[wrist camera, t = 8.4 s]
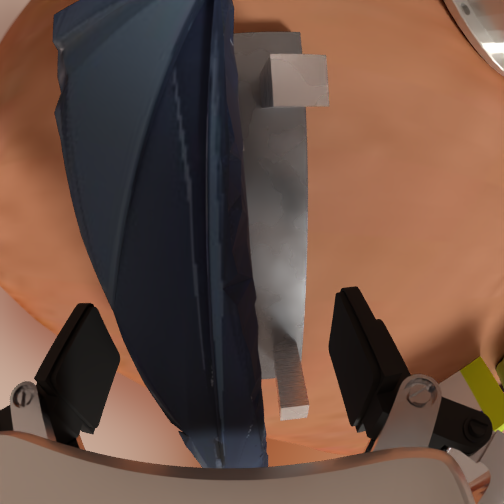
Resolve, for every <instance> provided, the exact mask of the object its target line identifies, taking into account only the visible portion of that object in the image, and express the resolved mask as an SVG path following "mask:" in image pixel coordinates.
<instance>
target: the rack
mask: <svg viewBox="0 0 504 504" xmlns="http://www.w3.org/2000/svg"><path fill="white" fill-rule="evenodd" d="M233 39H234V53H235V59H236V65H237V71H238V95H239V108H240V121H241V130H242V138H243V145H244V150H245V151H243V160H244V171H245V183H246V194H247V205H248V217H249V237H250V251H251V261H252V272H253V280H254V285H255V291H256V296H257V299H256V301H255V309H256V315H257V321H258V353H259V359H260V365H261V371H262V377H261V379H270V378H276V386H277V395H278V403H279V412H280V421H281V420H290V419H299V418H306V417H307V414H308V409H309V401H308V396H307V391H306V386H305V381H304V376H303V371H302V366H301V357H302V344H303V329H304V313H305V294H306V270H307V231H308V167H307V129H306V107H325V106H329V92H328V75H327V61H326V55H312V54H302V47H301V36H300V32H251V33H235V34H233Z"/></svg>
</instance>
